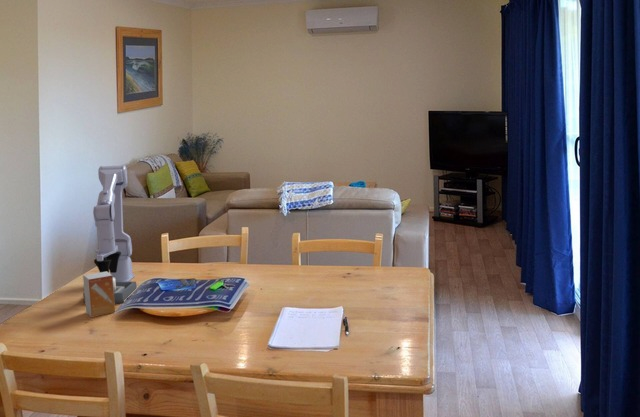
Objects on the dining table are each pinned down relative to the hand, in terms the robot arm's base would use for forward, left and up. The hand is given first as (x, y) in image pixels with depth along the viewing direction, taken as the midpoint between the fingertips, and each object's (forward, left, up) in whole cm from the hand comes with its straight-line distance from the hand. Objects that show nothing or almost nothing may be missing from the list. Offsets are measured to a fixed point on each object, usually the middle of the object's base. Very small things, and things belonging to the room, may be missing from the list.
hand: (109, 275), depth 256 cm
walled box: (0, 0, -8) cm, 8 cm away
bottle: (0, 0, -7) cm, 7 cm away
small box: (+17, +3, -8) cm, 19 cm away
